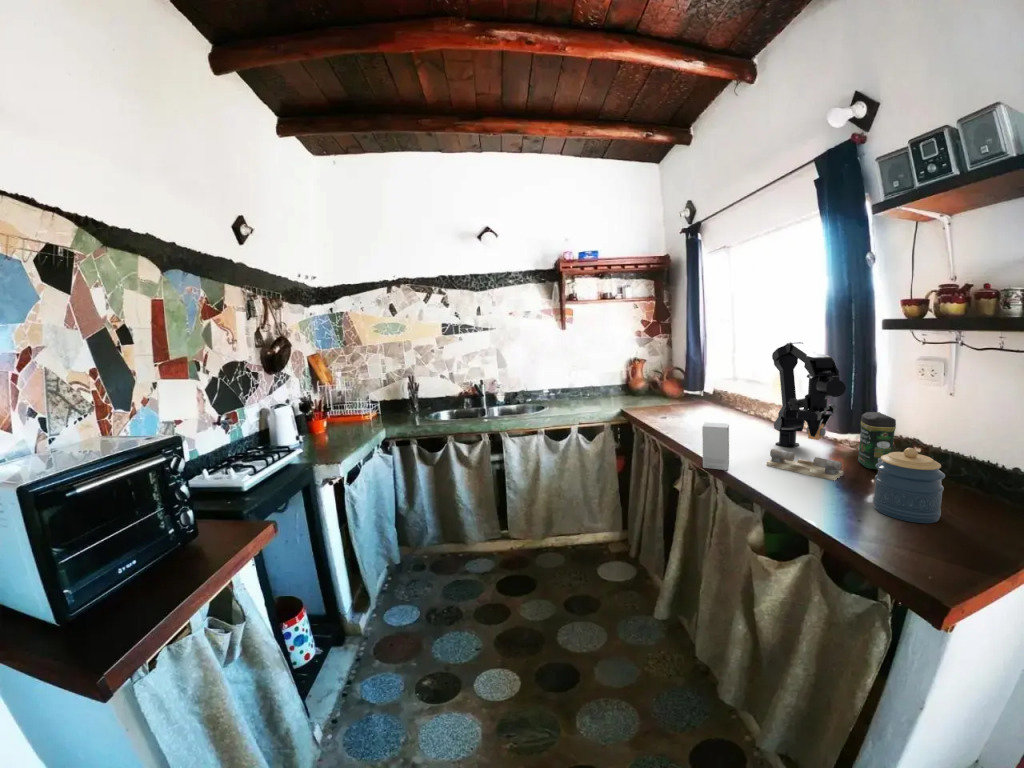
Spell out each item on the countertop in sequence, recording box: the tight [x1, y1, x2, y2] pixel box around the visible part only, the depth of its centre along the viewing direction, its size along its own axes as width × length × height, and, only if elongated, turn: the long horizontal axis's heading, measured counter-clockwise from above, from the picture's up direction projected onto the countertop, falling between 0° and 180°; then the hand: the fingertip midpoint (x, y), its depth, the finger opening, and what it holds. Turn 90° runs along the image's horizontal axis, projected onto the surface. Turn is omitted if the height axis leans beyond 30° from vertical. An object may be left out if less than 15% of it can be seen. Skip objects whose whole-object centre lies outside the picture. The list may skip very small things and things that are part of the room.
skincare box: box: [701, 421, 730, 471], centre depth 147 cm, size 8×7×16 cm
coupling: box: [805, 424, 827, 441], centre depth 147 cm, size 5×5×5 cm
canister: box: [872, 447, 946, 524], centre depth 108 cm, size 13×13×18 cm
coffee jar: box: [857, 411, 897, 471], centre depth 140 cm, size 10×8×19 cm
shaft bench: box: [766, 448, 845, 481], centre depth 141 cm, size 20×8×5 cm, turn 35°
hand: (815, 435), depth 147 cm, fingers closed on coupling, 5 cm apart
